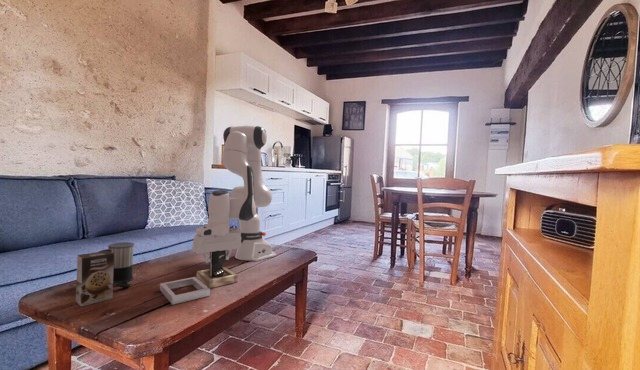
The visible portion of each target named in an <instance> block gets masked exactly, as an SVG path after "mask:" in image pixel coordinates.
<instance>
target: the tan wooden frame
mask: <svg viewBox="0 0 640 370" xmlns="http://www.w3.org/2000/svg"><path fill="white" fill-rule="evenodd" d="M223 270H224V274H222V275H221V277H220V276H218V277H213V278H212V277H210V268H208V269H203V270H197V271H196V278H197V279H198V280H199V281H201V282H202V283H203V284H204V285H206V286H207V287H208V288H209V289H213V288H217V287H221V286H226V285H231V284H235V283H238V279H239V278H238V276H239V275H238V274H237V273H235V272H233V271H232V270H230V269H228V268H226V267H225V266H223Z"/></svg>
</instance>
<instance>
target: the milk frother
mask: <svg viewBox="0 0 640 370" xmlns="http://www.w3.org/2000/svg"><path fill="white" fill-rule="evenodd" d="M134 245H135V243H134V242H130V241H129V242H128V241H127V242H126V241H125V242H113V243H110V244H107V249H102V250H100V251H98V252H102V251H109V252H112V253H114V270H113V286H116V287H119V288H123V289H126V287H131V286H132V284H131V281H132V280H134V277H133V265H134V264H133V261H134V260H133V259H134Z"/></svg>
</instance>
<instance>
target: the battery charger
mask: <svg viewBox="0 0 640 370" xmlns="http://www.w3.org/2000/svg"><path fill="white" fill-rule="evenodd" d="M226 252H227V250H223V251H215V252H209V258H210V263H209V269H210V278H219V277H220V276H223V275H222V274H224V270H223V267H224V265H223V263H224V261H226V260H225V256H226V254H227V253H226Z"/></svg>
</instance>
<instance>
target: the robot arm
mask: <svg viewBox="0 0 640 370" xmlns="http://www.w3.org/2000/svg"><path fill="white" fill-rule="evenodd" d="M222 135H223V137H222V138H223V142H224V143H225V144H224V147H223V151H222V158H221V159H222V165H223V167H224V168H225V169H226V170H228V172H230V173H233V174H235V175H237V176H238V177H241V178H242V180H243V185H239V186H235V187H233V188H232V189H231V191H230V192H229V191H227V190H214V191H212V192H211V193H210V195H209V200H208V206H207V207H208V208H207V210H208V211H207V213H208V219H207V224H205V225H202V226H200V227H197V228H196V229H195V231H194V233H195V236H194V237H193V240H192V247H191V250H192V252H193V253H194V254H196V255H200V254H202V255H203V257H204V261H205V264H210V257H208V256H209V254H210V252H215V251H223V250H225V251H226V252H227V253H226V256H225V260H224V261H229V259H230V255H231V254H232V251H233V250H236V253H235V256H234V258H236V259H237V260H240V261H253V262H258V261H262V260H266V259H270V258H273V257H276V256H277V254H276V252H275V251H273V248H272V247H273V246H272V245H271V243H270V242H268V241H267V240H266V239H265V238H263V237H265V236H266V235H267V232H265V231H261V229H260V228H261V218H260V215H258V213H257V208H266V207H268V206H269V205H271V202H272V200H273V194H272V192H271V190H269V188H267V186H266V185H265V182H264V178H263V174H262V173H263V171H262V151H261V149H262V148H263V147H264V146H265V145H266V143H267V137H268V136H267V131H266V129H265V128H264V127H263V126H258V125H256V126H254V125H240V126H239V125H238V126H228V127H227V128H225V130H224V131H223V134H222ZM230 220H239V224H238V226H239V227H231V226H230V223H231V221H230Z"/></svg>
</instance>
